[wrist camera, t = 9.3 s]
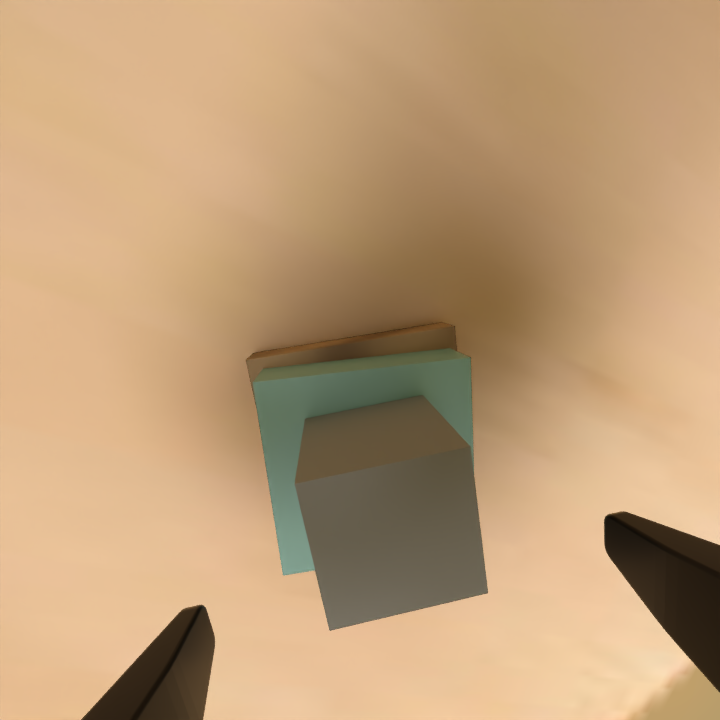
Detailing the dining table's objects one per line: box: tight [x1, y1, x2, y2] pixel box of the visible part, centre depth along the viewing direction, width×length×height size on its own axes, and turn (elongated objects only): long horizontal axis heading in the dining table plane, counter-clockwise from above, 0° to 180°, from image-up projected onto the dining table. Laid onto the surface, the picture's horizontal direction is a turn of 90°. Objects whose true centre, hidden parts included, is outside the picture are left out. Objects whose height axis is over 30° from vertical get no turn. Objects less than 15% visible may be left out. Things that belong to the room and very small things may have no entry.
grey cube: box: [295, 395, 488, 631], centre depth 13 cm, size 5×5×5 cm
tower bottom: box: [246, 323, 457, 408], centre depth 19 cm, size 10×10×2 cm
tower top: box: [253, 348, 474, 575], centre depth 17 cm, size 9×9×2 cm
